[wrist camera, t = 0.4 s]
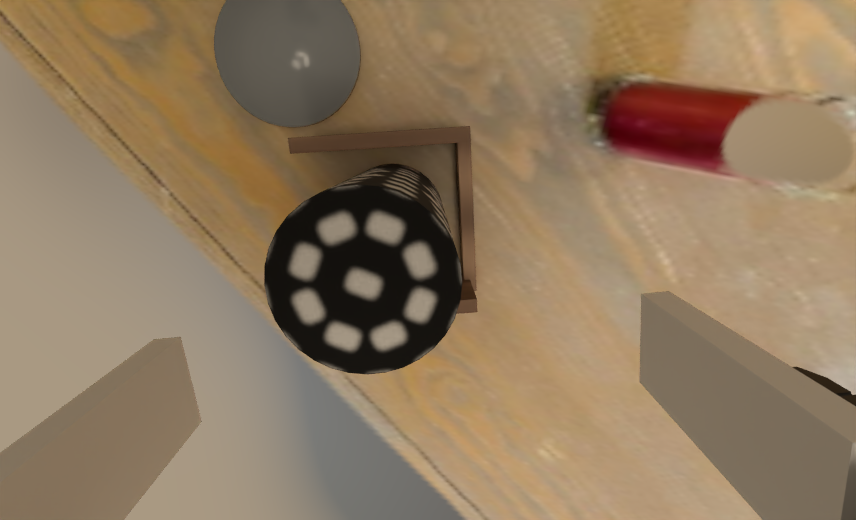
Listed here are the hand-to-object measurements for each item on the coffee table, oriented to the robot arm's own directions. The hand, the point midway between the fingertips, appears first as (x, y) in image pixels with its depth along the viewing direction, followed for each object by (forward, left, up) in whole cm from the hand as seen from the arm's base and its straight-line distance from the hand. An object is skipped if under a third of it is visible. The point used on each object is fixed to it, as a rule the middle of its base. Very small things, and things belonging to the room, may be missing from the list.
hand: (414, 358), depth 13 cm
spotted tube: (0, -2, -27) cm, 27 cm away
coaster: (-13, -9, -27) cm, 31 cm away
